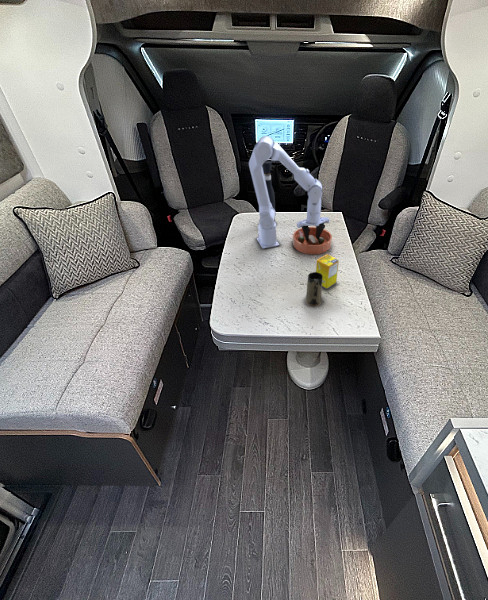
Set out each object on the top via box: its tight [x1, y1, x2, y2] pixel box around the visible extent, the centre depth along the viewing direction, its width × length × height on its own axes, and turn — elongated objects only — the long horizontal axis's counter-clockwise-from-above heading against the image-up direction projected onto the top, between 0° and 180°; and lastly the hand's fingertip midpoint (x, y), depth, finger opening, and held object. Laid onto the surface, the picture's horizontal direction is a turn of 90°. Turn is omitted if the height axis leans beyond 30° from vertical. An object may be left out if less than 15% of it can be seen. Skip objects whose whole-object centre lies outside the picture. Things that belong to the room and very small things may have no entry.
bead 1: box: [298, 236, 305, 243], centre depth 153 cm, size 3×3×3 cm
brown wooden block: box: [308, 235, 318, 245], centre depth 152 cm, size 7×3×3 cm, turn 21°
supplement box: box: [315, 253, 340, 291], centre depth 127 cm, size 6×6×11 cm
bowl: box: [292, 226, 333, 255], centre depth 152 cm, size 17×17×4 cm
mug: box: [305, 271, 323, 307], centre depth 118 cm, size 8×6×12 cm
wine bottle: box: [262, 160, 276, 222], centre depth 160 cm, size 6×6×30 cm
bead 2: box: [318, 237, 324, 244], centre depth 153 cm, size 3×3×3 cm
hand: (312, 239), depth 152 cm, fingers open, 5 cm apart
